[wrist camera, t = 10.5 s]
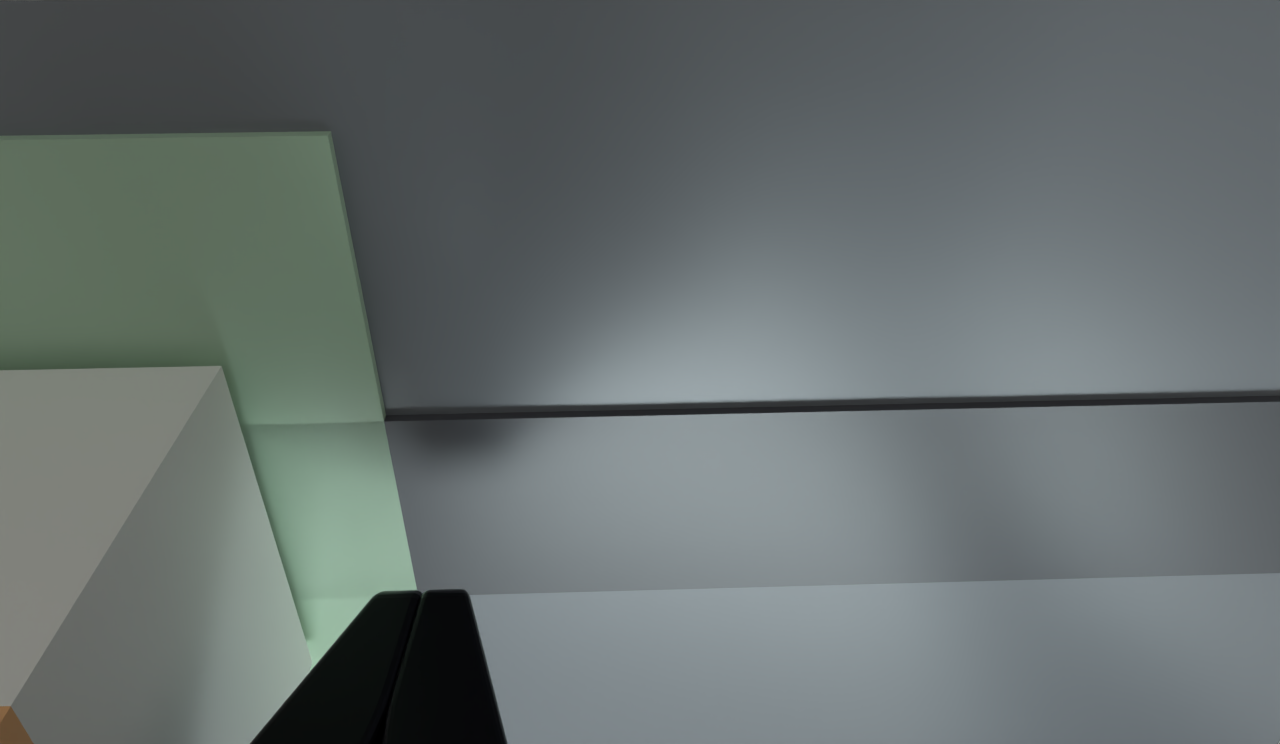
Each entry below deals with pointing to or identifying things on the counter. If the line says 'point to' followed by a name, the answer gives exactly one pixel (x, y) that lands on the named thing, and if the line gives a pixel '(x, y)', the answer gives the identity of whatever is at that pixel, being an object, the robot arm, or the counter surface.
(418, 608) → the robot arm
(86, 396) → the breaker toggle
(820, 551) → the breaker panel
